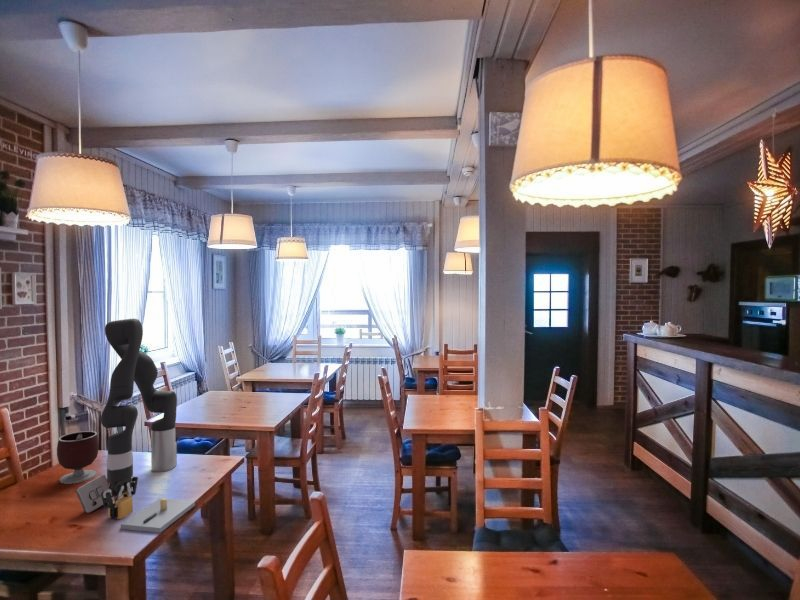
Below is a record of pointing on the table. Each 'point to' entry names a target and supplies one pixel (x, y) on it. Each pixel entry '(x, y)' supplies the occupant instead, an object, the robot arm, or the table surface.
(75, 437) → the mate gourd
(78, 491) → the electrical switch
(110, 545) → the table surface
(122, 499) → the orange toy cube
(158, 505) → the grey slider board
